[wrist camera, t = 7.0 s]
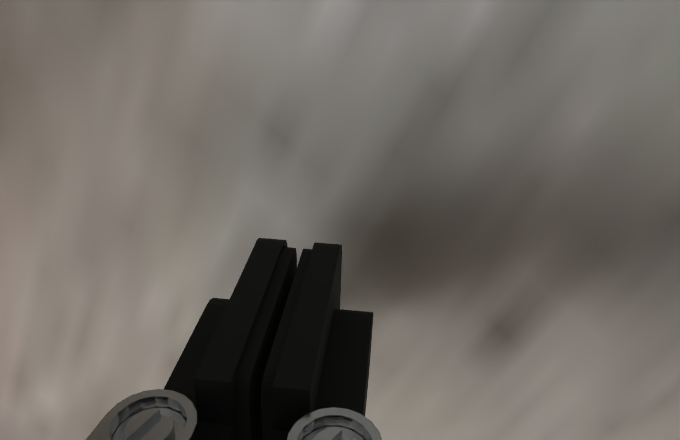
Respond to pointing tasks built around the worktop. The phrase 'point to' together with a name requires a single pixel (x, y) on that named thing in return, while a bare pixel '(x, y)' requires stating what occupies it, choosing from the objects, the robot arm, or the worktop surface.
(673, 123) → the worktop surface
